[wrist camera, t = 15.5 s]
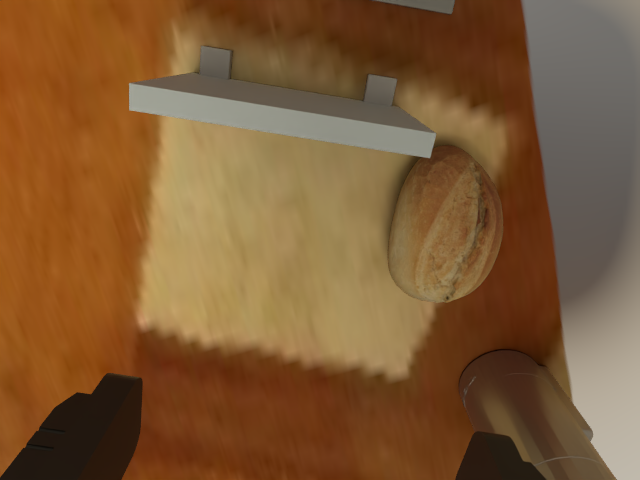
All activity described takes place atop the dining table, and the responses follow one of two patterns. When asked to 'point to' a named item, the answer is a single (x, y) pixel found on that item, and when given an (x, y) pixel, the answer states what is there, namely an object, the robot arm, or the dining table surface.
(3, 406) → the dining table surface
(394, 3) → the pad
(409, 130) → the screen
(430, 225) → the bread roll
